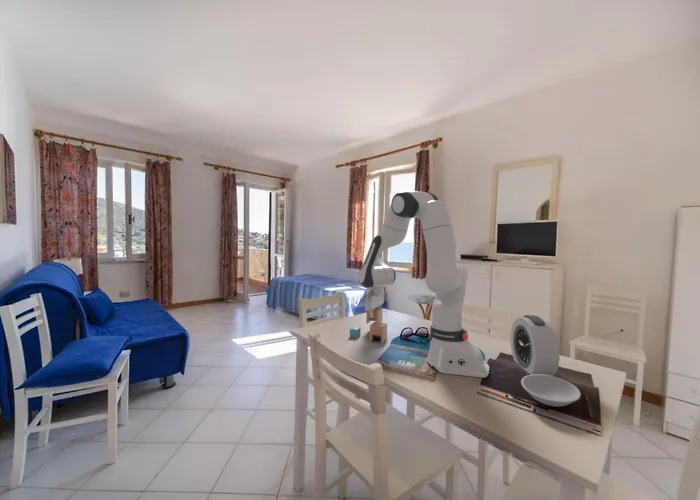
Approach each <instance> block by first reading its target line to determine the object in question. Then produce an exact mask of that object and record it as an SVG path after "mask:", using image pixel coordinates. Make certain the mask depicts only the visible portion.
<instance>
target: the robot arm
mask: <svg viewBox="0 0 700 500" xmlns="http://www.w3.org/2000/svg"><path fill="white" fill-rule="evenodd" d="M412 218H413V219H418V220H419V221H420V223H421V228H422V232H423V233H422V234H423V237H424V239H423V240H424V242H425V248H426V275H425V278H424V279H425V281H424V282H425V285H426V287H427V289H428V290H429V291H431V292H432V293H435V296H434V300H433V303H432V306H431V325H430V329H429V339H430V344H429V350H428V354H427V358H426V362H427V361H428V363H429V364H430V365H431V366H430V365H429V364H428V363H427V364H428V365H429V366H430V367H432V366H434V367H435V368H434V367H433V368H434V369H436V370H437V371H438V372H439V373H442V374H448V375H456V376H466V377H475V378H487V377H488V376H489V375H490V372H489V370H490V366H489V363H487V362H486V361H485V360H484V358H483V354H482V351H481V350H480V348H478V346H476V345H475V344H474V343H472V342H471V341H470V340H469V339H468V338H469V334H468V330H467V329H465V328H463V326H462V325H463V308H464V307H463V305H464V300H465V296H466V295H465V294H466V289H467V288H466V287H467V281H468V277H469V276H468V275H469V274H468V271H467V268H465V266H463V265H462V264H460V263H458V262H457V261H456V260H457V258H456V257H457V256H456V248H457V242H456V237H455V234H454V228H453V224H452V221H451V217H450V214H449V211H448V208H447V207H446V204H445V203H444V202H443V201H441V200H439V199H438V196H437V195H435V194H434V193H431V192H429V191H427V192H424V191H419V190H403V191H400V192H397V193H395V195H393V197H392V199H391V203H390V206H389V207H388V209H387V211H386V215H385V218H384V222H383V226H382V229H381V230H380V232H378V234H377V235H376V236H374V237H373V239H372V241H371V244H370V246H369V248H368V251H367V253H366V256H365V259H364V262H363V265H362V267H361V268H360V269H359V271H358V274H357V275H358V276H357V278H358V282H359V284H360V285H361V286H363V287H364V288H365V289H366V293H367V294H366V295H365V301H364V310H365V311H366V312H367V311H369V313H370V318H373V317H374V313H373V311H374V309H375V308H377V307H380V308H381V305H383V304H384V302H385V293H386V290H387V289H386V288H387V287H388V286H392V285H393V284H394V283H395V281H396V277H397V275H396V271H395V269H394V268H393V267H392V266H389V265H388V264H386V263H385V261H384V259H383V258H379V257H380V255H381V254H382V252H384V251H386V250H387V249H391V248H393V247H395V246H398V245H400V244H401V243H402V242H404V241H405V239H406V237H407V234H408V233H407V232H408V229H409V225H410V223H411V220H412ZM386 286H387V287H386ZM488 374H489V375H488Z"/></svg>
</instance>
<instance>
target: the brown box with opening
mask: <svg viewBox="0 0 700 500" xmlns="http://www.w3.org/2000/svg"><path fill="white" fill-rule="evenodd" d="M375 338H377V339H380V344H384V343H385V342H386V341H387V340H388V323H387V322H386V323H385V322H381V323H380V322H376V321H373V322H372V323H371V324H370V325H369V341H370V342H373V340H374V339H375Z"/></svg>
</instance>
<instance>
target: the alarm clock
mask: <svg viewBox="0 0 700 500" xmlns="http://www.w3.org/2000/svg"><path fill="white" fill-rule="evenodd" d="M511 326H512V327H511V329H510V331H511V332H510V348H511V355H512V358H513V361H514V362H515V363H516V364H517V363H518V364H519V365H520V366H521V367H522V368H523V369H524V370H525V371H527V373H529V374H530V375H531V374H544V375H550V376H554V377H555V375H556V374H557V372H558V370H559V366H560V365H559V364H560V346H559V342H558V338H557V335H556V333H555V331H554V328H553V327H552V325H551V324H550V323H549V322H548V321H547V320H545V318H541V317H539V316H538V315H532V314H525V315H523V316H522V317H521V316H519V317H516V319H515V320H514V321H513V323H512V325H511ZM518 364H517V365H518ZM519 365H518V366H519ZM520 366H519V367H520ZM521 367H520V368H521ZM522 368H521V369H522ZM523 369H522V370H523ZM524 370H523V371H524ZM525 371H524V372H525ZM527 373H526V374H527Z"/></svg>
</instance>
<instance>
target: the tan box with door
mask: <svg viewBox="0 0 700 500" xmlns="http://www.w3.org/2000/svg"><path fill="white" fill-rule="evenodd" d="M373 313H374V317H373V318H370V313H369V311H366V324H369V323H370V322H371V321H372V322H380V323H383V307H381V306H380V307H377V308H375V309H374V311H373Z"/></svg>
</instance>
